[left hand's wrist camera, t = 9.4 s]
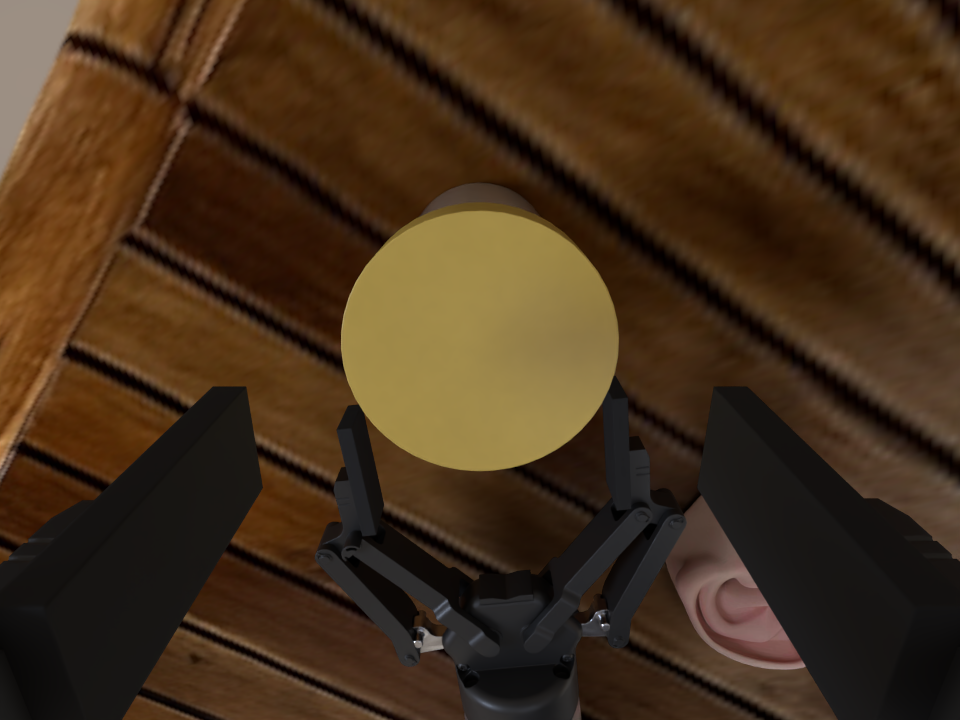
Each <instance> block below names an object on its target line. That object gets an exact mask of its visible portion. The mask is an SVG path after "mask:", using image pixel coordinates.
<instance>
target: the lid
mask: <svg viewBox="0 0 960 720" xmlns="http://www.w3.org/2000/svg"><path fill="white" fill-rule="evenodd" d="M618 347H619V333H618V322H617V317H616V313H615V309H614V304H613V302H612V299H611V297H610V294H609V292H608V289H607V287H606V285H605V283H604V281H603V280H602V278H601V276H600V274H599V273H598V271H597V270H596V268H595V267H594V266H593V265H592V263H591V262H590V261H589V259H588V258H587V257H586V256H585V254H584V253H583V252H582V251H581V250H580V249H579V247H578V246H577V245H576V244H575V243H574V242H573V241H572V240H571V239H570V238H569V237H568V236H567V235H566V234H565V233H564V232H562V231H561V230H560V229H558V228H557V227H556V226H554V225H553V224H552V223H550V222H548V221H547V220H545V219H543V218H541V217H539V216H537V215H536V214H533V213H531V212H528V211H525V210H523V209H520V208H517V207H513V206H508V205H504V204H498V203H487V202H475V203H462V204H456V205H451V206H447V207H443V208H440V209H437V210H434V211H431V212H429V213H427V214H425V215H423V216H421V217H419V218H417V219H415V220H413V221H412V222H410V223H409V224H407V225H406V226H404V227H403V228H401V229H400V230H399V231H398V232H397V233H395V234H394V235H393V236H392V237H391V238H390V239H389V240H388V241H387V242H386V243H385V244H384V245H383V247H382V248H381V249H380V250H379V251H378V252H377V254H376V255H375V256H374V257H373V258H372V259H371V261H370V262H369V263H368V264H367V265H366V267H365V268H364V270H363V271H362V273H361V275H360V276H359V278H358V279H357V281H356V283H355V285H354V287H353V289H352V292H351V294H350V296H349V299H348V302H347V305H346V309H345V312H344V317H343V324H342V331H341V350H342V358H343V365H344V369H345V372H346V376H347V379H348V383H349V385H350V387H351V390H352V392H353V394H354V396H355V398H356V400H357V402H358V403H359V405H360V407H361V408H362V410H363V412H364V413H365V414H366V416H367V417H368V418H369V419H370V421H371V422H372V423H373V424H374V425H375V426H376V427H377V428H378V429H379V430H380V431H381V432H382V433H383V434H384V435H385V436H386V437H387V438H388V439H390V440H391V441H392V442H394V443H395V444H396V445H397V446H399V447H400V448H402V449H404V450H406V451H407V452H409V453H411V454H412V455H414V456H417V457H419V458H421V459H423V460H425V461H428V462H431V463H434V464H437V465H440V466H444V467H448V468H454V469H459V470H469V471H493V470H500V469H507V468H512V467H516V466H519V465H523V464H527V463H529V462H532V461H534V460H537V459H539V458H542V457H544V456H545V455H547V454H549V453H551V452H553V451H555V450H557V449H558V448H559V447H561V446H562V445H564V444H565V443H567V442H568V441H569V440H571V439H572V438H573V437H574V436H575V435H576V434H577V433H578V432H579V431H581V430H582V429H583V427H584V426H585V425H586V424H587V423H588V422H589V421H590V419H591V418H592V417H593V416H594V414H595V413H596V411H597V410H598V408H599V407H600V405H601V404H602V402H603V400H604V398H605V396H606V394H607V392H608V390H609V388H610V385H611V382H612V379H613V376H614V373H615V369H616V364H617V358H618Z"/></svg>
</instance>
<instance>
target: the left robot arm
mask: <svg viewBox="0 0 960 720" xmlns="http://www.w3.org/2000/svg"><path fill="white" fill-rule="evenodd" d="M262 488H263V486H262V480H261V474H260V468H259V462H258V456H257V450H256V444H255V437H254V431H253V425H252V419H251V413H250V407H249V401H248V395H247V389H246V387H212V388H211V389H210V390H209V391H208V392H207V393H206V394H205V395H204V396H203V397H202V398H201V399H199V400H198V401H197V402H196V403H195V404H194V405H193V406H192V407H191V408H190V409H189V410H188V411H187V412H186V413H185V414H184V415H183V416H182V417H181V418H180V419H179V420H178V421H177V422H175V423H174V424H173V425H172V426H171V427H170V428H169V429H168V430H167V431H166V432H165V433H164V434H163V435H162V436H161V437H160V438H159V439H158V440H157V441H156V442H155V443H154V444H153V445H151V446H150V447H149V448H148V449H147V450H146V451H145V452H144V453H143V454H142V455H141V456H140V457H139V458H138V459H137V460H136V461H135V462H134V463H133V464H132V465H131V466H130V467H128V468H127V469H126V470H125V471H124V472H123V473H122V474H121V475H120V476H119V477H118V478H117V479H116V480H115V481H114V482H113V483H112V484H111V485H110V486H109V487H108V488H107V489H106V490H104V491H103V492H102V493H101V494H100V495H99V496H98V497H97V498H96V499H95V500H82V501H81V502H79V503H77V504H75V505H74V506H72V507H70V508H68V509H67V510H65V511H63V512H61V513H60V514H58V515H56V516H54V517H53V518H51V519H50V520H49V521H48V522H47V523H46V524H44V525H43V526H42V527H41V528H40V529H39V530H38V531H37V532H36V533H35V534H33V535H32V536H31V537H30V538H29V541H28V543H23V544H22V545H21V546H20V547H19V548H18V549H17V550H16V551H15V552H14V553H12V554H11V555H10V556H9V560H8V561H4V562H2V563H1V564H0V720H122V719H123V717H124V715H125V714H126V712H127V710H128V709H129V707H130V705H131V704H132V702H133V700H134V699H135V697H136V695H137V694H138V692H139V691H140V689H141V687H142V686H143V684H144V682H145V681H146V679H147V677H148V676H149V674H150V672H151V671H152V669H153V668H154V666H155V664H156V663H157V661H158V659H159V658H160V656H161V654H162V653H163V651H164V649H165V648H166V646H167V645H168V643H169V641H170V640H171V638H172V636H173V635H174V633H175V631H176V630H177V628H178V626H179V625H180V623H181V622H182V620H183V618H184V617H185V615H186V613H187V612H188V610H189V608H190V607H191V605H192V603H193V602H194V600H195V598H196V597H197V595H198V594H199V592H200V590H201V589H202V587H203V585H204V584H205V582H206V580H207V579H208V577H209V575H210V574H211V572H212V571H213V569H214V567H215V566H216V564H217V562H218V561H219V559H220V557H221V556H222V554H223V552H224V551H225V549H226V548H227V546H228V544H229V543H230V541H231V539H232V538H233V536H234V534H235V533H236V531H237V529H238V528H239V526H240V525H241V523H242V521H243V520H244V518H245V516H246V515H247V513H248V511H249V510H250V508H251V506H252V505H253V503H254V501H255V500H256V498H257V497H258V495H259V493H260V492H261V490H262ZM697 488H698V490H699V492H700V493H701V495H702V497H703V498H704V500H705V502H706V503H707V505H708V506H709V508H710V510H711V511H712V513H713V515H714V516H715V518H716V520H717V521H718V523H719V525H720V526H721V528H722V529H723V531H724V533H725V534H726V536H727V538H728V539H729V541H730V543H731V544H732V546H733V548H734V549H735V551H736V552H737V554H738V556H739V557H740V559H741V561H742V562H743V564H744V566H745V567H746V569H747V571H748V572H749V574H750V575H751V577H752V579H753V580H754V582H755V584H756V585H757V587H758V589H759V590H760V592H761V594H762V595H763V597H764V598H765V600H766V602H767V603H768V605H769V607H770V608H771V610H772V612H773V613H774V615H775V617H776V618H777V620H778V622H779V623H780V625H781V626H782V628H783V630H784V631H785V633H786V635H787V636H788V638H789V640H790V641H791V643H792V645H793V646H794V648H795V649H796V651H797V653H798V654H799V656H800V658H801V659H802V661H803V663H804V664H805V666H806V668H807V669H808V671H809V672H810V674H811V676H812V677H813V679H814V681H815V682H816V684H817V686H818V687H819V689H820V691H821V692H822V694H823V695H824V697H825V699H826V700H827V702H828V704H829V705H830V707H831V709H832V710H833V712H834V714H835V715H836V717H837V719H838V720H960V561H958V560H957V559H953V558H952V554H951V553H950V552H948V551H947V550H946V549H945V548H944V547H943V546H942V545H941V544H940V543H938V542H937V541H933V540H932V536H931V535H930V534H928V533H927V532H926V531H925V530H924V529H923V528H922V527H921V526H920V525H918V524H917V523H916V522H915V521H914V520H913V519H912V518H911V517H910V516H908V515H906V514H904V513H903V512H901V511H899V510H897V509H896V508H894V507H892V506H890V505H889V504H887V503H885V502H883V501H882V500H880V499H878V498H863V497H862V496H861V495H860V494H859V493H858V492H857V491H856V490H854V489H853V488H852V487H851V486H850V485H849V484H848V483H847V482H846V481H845V480H844V479H843V478H842V477H841V476H840V475H839V474H838V473H837V472H836V471H835V470H834V469H833V468H832V467H830V466H829V465H828V464H827V463H826V462H825V461H824V460H823V459H822V458H821V457H820V456H819V455H818V454H817V453H816V452H815V451H814V450H813V449H812V448H811V447H810V446H809V445H807V444H806V443H805V442H804V441H803V440H802V439H801V438H800V437H799V436H798V435H797V434H796V433H795V432H794V431H793V430H792V429H791V428H790V427H789V426H788V425H787V424H786V423H785V422H783V421H782V420H781V419H780V418H779V417H778V416H777V415H776V414H775V413H774V412H773V411H772V410H771V409H770V408H769V407H768V406H767V405H766V404H765V403H764V402H763V401H762V400H761V399H759V398H758V397H757V396H756V395H755V394H754V393H753V392H752V391H751V390H750V389H749V388H748V387H714V389H713V395H712V401H711V407H710V413H709V419H708V425H707V431H706V437H705V444H704V450H703V456H702V462H701V468H700V474H699V480H698V486H697Z"/></svg>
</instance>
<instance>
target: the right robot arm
mask: <svg viewBox="0 0 960 720" xmlns="http://www.w3.org/2000/svg"><path fill="white" fill-rule="evenodd" d="M603 421H604V441H605V461H606V481H607V484H608V487H609V490H610V493H611V495H612V498H611V499H610V500H609V501H608V503H607V504H606V505H605V506H604V507H603V508H602V509H601V510H600V512H599V513H598V514H597V515H596V516H595V517H594V518H593V520H592V521H591V522H590V523H589V524H588V525H587V526H586V528H585V529H584V530H583V531H582V532H581V533H580V534H579V536H578V537H577V538H576V539H575V540H574V541H573V542H572V544H571V545H570V546H569V547H568V548H567V549H566V550H565V551H564V553H563V554H562V555H561V556H560V557H559V558H556V557H554V558H553V559H551V561H550V562H549V563H548V564H547V565H546V566H545V567H544V569H543V570H542V571H541V572H540V573H539V574H538V575H535V574H531V572H530V570H522V571H516V572H513V573H510V574H507V575H501V574H481V575H479V579H477V580H475V581H474V580H472V579H471V578H470V577H468V576H467V575H465V574H464V573H463V572H461V571H460V570H459V569H457V568H455V567H452V568H447V567H446V566H445V565H443V564H442V563H441V562H439V561H438V560H436V559H435V558H434V557H432V556H431V555H429V554H428V553H427V552H425V551H424V550H422V549H421V548H420V547H418V546H417V545H416V544H414V543H413V542H411V541H410V540H409V539H407V538H406V537H404V536H403V535H402V534H400V533H399V532H398V531H396V530H395V529H393V528H392V527H391V526H389V525H388V524H386V523H385V522H384V521H382V520H381V519H380V518H381V515H382V511H383V507H384V502H383V498H382V493H381V489H380V484H379V479H378V475H377V470H376V466H375V461H374V457H373V452H372V448H371V443H370V439H369V434H368V430H367V425H366V421H365V416H364V412H363V410H362V408H361V407H360V405H350V406H348V407H347V409H346V411H345V413H344V416H343V418H342V420H341V422H340V424H339V426H338V428H337V434H338V438H339V442H340V446H341V450H342V454H343V458H344V462H345V466H346V467H341V470H340V472H339V474H338V477H337V479H336V482H335V486H334V493H335V497H336V501H337V505H338V509H339V513H340V517H341V521H342V522H341V523H339V522H331V523H329V524H328V525H327V526H326V529H325V531H324V534H323V536H322V539H321V542H320V544H319V547H318V549H317V552H316V555H315V560H316V562H317V563H318V564H319V565H320V566H321V567H322V568H323V569H324V570H325V571H326V573H327V574H328V575H329V576H330V577H331V578H332V579H333V580H334V581H335V582H336V583H337V584H338V585H339V586H340V587H341V588H342V589H343V590H344V591H345V592H346V593H347V594H348V595H349V597H350V598H351V599H352V600H353V601H354V602H355V603H356V604H357V605H358V606H359V607H360V608H361V609H362V610H363V611H364V612H365V613H366V614H367V615H368V616H369V617H370V618H371V619H372V620H373V622H374V623H375V624H376V625H377V626H378V627H379V628H380V629H381V630H382V631H383V632H384V633H385V634H386V635H387V636H388V637H389V638H390V639H391V640H392V642H393V645H394V647H395V650H396V652H397V655H398V657H399V660H400V662H401V663H402V664H403V665H405V666H408V667H411V666H415V665H417V664H418V663H419V661H420V653H422V652H428V651H433V650H439V649H444V650H445V651H446V652H447V653H448V654H449V655H450V656H451V657H452V659H453V660H454V663H455V668H456V673H457V678H458V683H459V689H460V694H461V699H462V704H463V709H464V712H465V714H464V715H465V720H581V710H580V699H579V687H578V675H577V663H576V651H575V650H576V646H577V644H578V642H579V641H580V639H581V637H582V636H607V639H608V643H609V645H610V646H611V647H613V648H622V647H624V646H626V645H627V644H628V641H629V634H630V625H631V619H632V617H633V615H634V613H635V612H636V610H637V608H638V607H639V605H640V603H641V602H642V600H643V598H644V596H645V595H646V593H647V591H648V590H649V588H650V586H651V585H652V583H653V581H654V580H655V578H656V576H657V574H658V573H659V571H660V569H661V568H662V566H663V564H664V563H665V561H666V559H667V557H668V556H669V554H670V552H671V551H672V549H673V547H674V546H675V544H676V542H677V541H678V539H679V537H680V535H681V534H682V532H683V530H684V529H685V527H686V524H687V521H686V518H685V516H684V514H683V512H682V510H681V509H680V507H679V505H678V503H677V501H676V499H675V497H674V495H673V494H672V492H671V491H670V490H668V489H665V488H662V489H658V490H656V491H653V490H650V474H649V473H650V467H649V466H650V461H649V455H648V454H647V452H646V450H645V448H644V446H643V444H642V442H641V440H640V438H639V436H634V437H629V422H628V397H627V396H626V394H625V392H624V390H623V388H622V387H621V385H620V383H619V381H618V379H617V377H616V376H613V379H612V382H611V385H610V388H609V390H608V392H607V394H606V396H605V398H604V400H603ZM618 556H619V557H618ZM617 557H618V558H617ZM616 558H617V560H616ZM615 560H616V562H615V564H614V566H613V567H612V569H611V571H610V573H609V575H608V577H607V579H606V581H605V583H604V586H603V589H602V594H596V595H595V596H594V601H593V602H592V604H591V606H590V608H589V609H588V610H587V611H584V612H579V611H578V609H577V608H578V606H579V604H580V599H581V597H582V595H583V594H584V593H585V592H586V591H587V590H588V589H589V588H590V587H591V585H592V584H593V583H594V582H595V581H596V580H597V579H598V578H599V577H600V576H601V575H602V574H603V572H604V571H605V570H606V569H607V568H608V567H609V566H610V565H611V564H612V563H613V562H614V561H615ZM402 589H403V590H404V591H406V592H407V593H409V594H410V595H411V596H413V597H414V598H416V599H417V600H419V601H420V602H422V603H423V604H424V605H426V606H427V607H429V608H430V609H432V610H433V612H434V613H435V616H436V618H437V620H438V621H439V622H440V623H441V624H443V625H436V624H433V623H432V622H431V621H430V620H429V619H428V618H427V617H426V612H425V611H423V610H420V611H417V609H416V606H415V605H414V603H413V601H412V600H411V599H410V598H409V596H408V595H407V594H406V593H405V592H404V591H403V590H402ZM459 597H460V598H459Z"/></svg>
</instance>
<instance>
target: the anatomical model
mask: <svg viewBox="0 0 960 720" xmlns="http://www.w3.org/2000/svg"><path fill="white" fill-rule="evenodd" d="M684 516H685V518H686V521H687V524H686V527H685V529H684V530H683V532H682V534H681V535H680V537H679V539H678V541H677V542H676V544H675V546H674V547H673V549H672V551H671V552H670V554H669V556H668V557H667V559H666V561H665V562H666V565H667V568H668V571H669V574H670V576H671V579H672V581H673V583H674V586H675V588H676V590H677V592H678V594H679V596H680V598H681V600H682V602H683V604H684V607H685V609H686V611H687V614H688V616H689V618H690V621H691V623H692V624H693V626H694V628H695V630H696V631H697V633H698V634H699V635H700V637H701V638H702V639H703V640H704V641H705V642H706V643H707V644H708V645H709V646H710V647H712V648H713V649H714V650H716V651H717V652H719V653H721V654H723V655H725V656H727V657H729V658H731V659H733V660H736V661H738V662H741V663H744V664H747V665H751V666H755V667H761V668H768V669H798V668H803V667H806V666H805V664H804V663H803V661H802V659H801V658H800V656H799V654H798V653H797V651H796V649H795V648H794V646H793V645H792V643H791V641H790V640H789V638H788V636H787V635H786V633H785V631H784V630H783V628H782V626H781V625H780V623H779V622H778V620H777V618H776V617H775V615H774V613H773V612H772V610H771V608H770V607H769V605H768V603H767V602H766V600H765V598H764V597H763V595H762V594H761V592H760V590H759V589H758V587H757V585H756V584H755V582H754V580H753V579H752V577H751V575H750V574H749V572H748V571H747V569H746V567H745V566H744V564H743V562H742V561H741V559H740V557H739V556H738V554H737V552H736V551H735V549H734V548H733V546H732V544H731V543H730V541H729V539H728V538H727V536H726V534H725V533H724V531H723V529H722V528H721V526H720V525H719V523H718V521H717V520H716V518H715V516H714V515H713V513H712V511H711V510H710V508H709V506H708V505H707V503H706V502H705V500H704V498H703V497H702V495H701V496H700V497H699V498H698V499H697V500H696V501H695V502H694V503H693V504H692V506H691V507H690V508H689V509H688V510H687V511H686V512H685V513H684Z"/></svg>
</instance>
